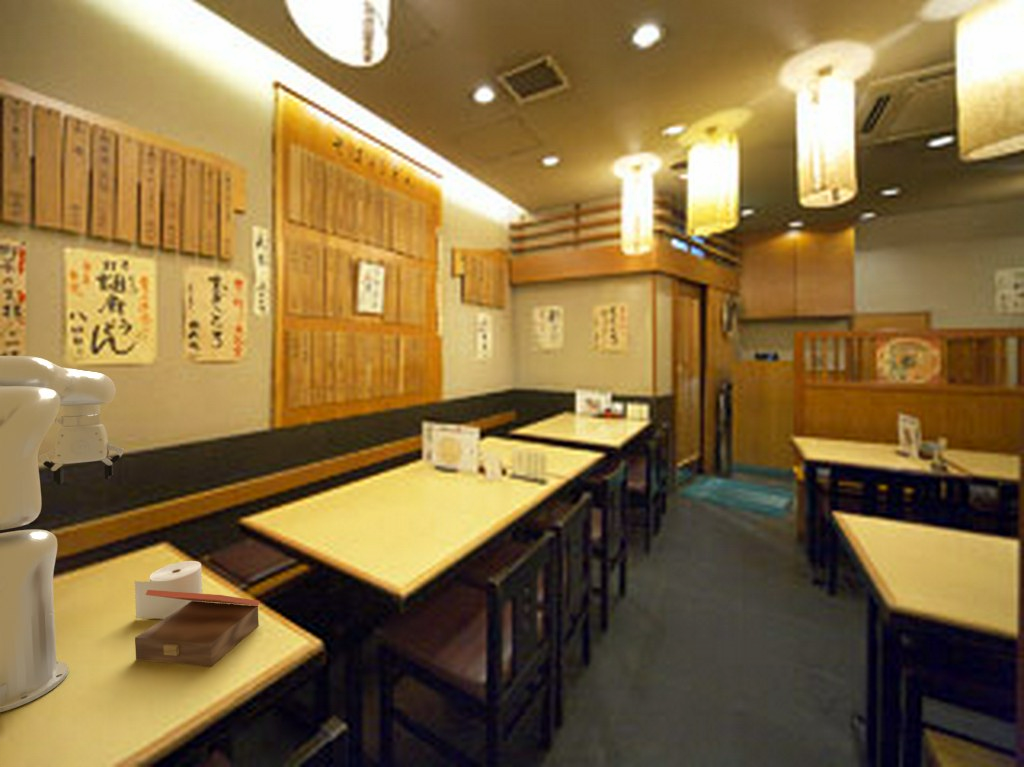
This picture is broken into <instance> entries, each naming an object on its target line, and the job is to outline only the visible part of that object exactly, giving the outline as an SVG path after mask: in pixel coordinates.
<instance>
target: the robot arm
mask: <svg viewBox="0 0 1024 767" xmlns="http://www.w3.org/2000/svg"><path fill="white" fill-rule="evenodd" d="M116 393H117V388H116V385H115V383H114V381H113V380H112V379H111V377H109V376H108V375H106V374H104V373H100V372H94V371H89V370H88V371H86V370H81V369H75V368H71V367H63V366H59V365H57V364H55V363H54V362H51V361H49V360H47V359H45V358H42V357H37V356H29V355H0V531H3V530H9V529H14V528H19V527H23V526H26V525H29V524H30V523H32V522H34V521H35V520H36V519H37V518H38V517H39V515H40V514H41V510H42V491H41V480H40V471H39V461H40V462H41V463H42V464H43V466H45V467H46V468H48V469H50V470H51V471H52V472H53V482H54V483H56V486H59V485H60V486H61V485H63V483H64V482H65V475H64V474H65V473H64V468H63V467H62V466H64V465H67V464H77V463H89V462H97V461H101V462H102V463H103V464H105V465H104V479H105V480H106V481H107V480H110V479H111V477H112V476H113V475H114V464H115V463H116V462H117V461H118V460H119V459H120V458H121V457H122V455H123V454H124V452H126V449H125V448H124V447H121V446H119V445H118V446H117V445H115V444H111V443H109V439H108V434H107V430H106V427H105V425H104V424H103V423H102V422H101V406H102V405H103V406H104V405H108V404H110V403H111V402H113V401H114V399H115V397H116ZM60 409H61V416H60V417H58V418H57V416H58V414H59V412H60ZM53 424H58V425H59V424H60V425H61V426H60V427H57V430H56V432H57V433H56V438H55V448H53V449H51V450H49V451H47V452H44V453H42V454H40V455H39V450H40V448H41V445H42V443H43V441H44V439H45V437H46V435H47V434H48V432H49V431H50V429H51V427H52V426H53ZM110 450H111V451H114V452H115V453H116V454H115V455H114V456H113V457H110V456H109V454H110ZM53 455H54V458H55V459H54V460H55V462H56V463H55V462H54V461H52V460H50V458H49V457H51V456H53ZM57 553H58V538H57V536H56V535H55V534H54V533H53V532H50V531H48V530H45V529H23V530H21V529H20V530H14V531H7V532H2V533H1V532H0V713H3V712H6V711H11V710H13V709H16V708H18V707H21V706H23V705H25V704H28V703H31V702H33V701H34V700H37V699H39V698H40V697H43V696H44V695H46V694H48V693H49V692H50V691H52V690H53V689H55V688H56V687H57V686H58V685H60V684H61V683H62V682H63V681H65V679H66V677H67V675H68V673H69V666H68V664H67V663H66V662H63V661H59V660H57V645H56V644H57V643H56V641H57V640H56V627H55V626H56V624H55V622H56V621H55V608H54V607H55V606H54V572H55V571H54V570H55V565H56V560H57V559H56V557H57Z"/></svg>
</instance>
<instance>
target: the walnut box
mask: <svg viewBox="0 0 1024 767" xmlns="http://www.w3.org/2000/svg"><path fill="white" fill-rule="evenodd" d="M259 624H260V623H259V605H258V606H257V605H243V604H230V603H216V602H203V601H202V602H199V601H191V602H189V603H188V604H186V605H185V606H183V607H182V608H180V609H179V610H177V611H175V612H174V613H172V614H171V615H169V616H168V617H166V618H165V619H160V621H158V622H157V623H155V624H154V625H151V626H150V627H149V628H147V629H146V630H145V631H143V632H141V633H140V634H138V635H136V636H135V637H134V640H135V643H134V644H135V660H136V661H145V662H146V661H148V662H156V663H157V662H158V663H166V664H177V665H178V664H179V665H189V666H201V667H211V668H212V667H213V666H214V665H215V664H216V663H217V662H218V661H219V660H221V659H222V658H223V657H224V656H225V655H226V654H228V653H229V652H230V651H232V649H234V647H236V646H237V645H238V644H239V643H240V642H241V641H242V640H243V639H245V638H246V637H247V636H249V634H251V633H252V632H253V631H254V630H256V628H258V627H259V626H260V625H259Z"/></svg>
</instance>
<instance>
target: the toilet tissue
mask: <svg viewBox="0 0 1024 767" xmlns="http://www.w3.org/2000/svg"><path fill="white" fill-rule="evenodd" d="M202 573H203V572H202V563H201V562H199V561H195V560H194V561H193V560H188V561H187V560H185V561H179V562H176V563H171V564H167V565H165V566H163V567H160V568H159V569H157V570H155V571H153V572H152V573H151V574H149V575H150V576H149V581H138V580H134V593H135V594H134V596H135V597H134V598H135V600H134V601H135V617H136V618H138V619H142V620H144V619H157V620H163V619H165V618H166V617H168V616H169V615H171V614H172V613H174V612H175V611H177V610H179V609H180V608H182V607H183V606H185V605H186V604H188V603H189V602H191V601H190V600H182V599H174V598H167V597H159V596H151V595H145V594H146V592H147V590H157V591H171V592H185V593H199V594H203V581H202V577H203V576H202ZM199 602H203V601H199Z"/></svg>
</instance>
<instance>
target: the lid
mask: <svg viewBox="0 0 1024 767" xmlns="http://www.w3.org/2000/svg"><path fill="white" fill-rule="evenodd" d="M145 595H151V596H159V597H167V598H174V599H182V600H190V601H202V602H213V603H227V604H240V605H254V606H258V607H259V604H260V600H256V599H249V598H243V597H235V596H230V595H222V594H210V593H202V594H199V593H185V592H171V591H157V590H147V592H146V594H145Z"/></svg>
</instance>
